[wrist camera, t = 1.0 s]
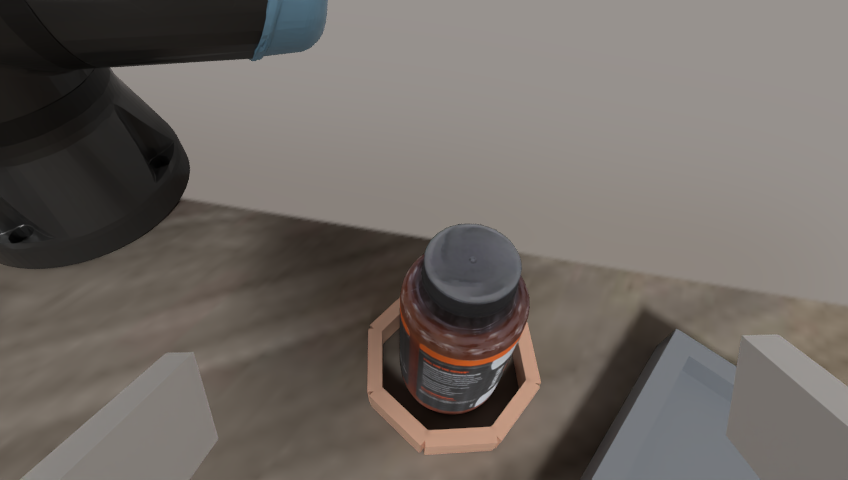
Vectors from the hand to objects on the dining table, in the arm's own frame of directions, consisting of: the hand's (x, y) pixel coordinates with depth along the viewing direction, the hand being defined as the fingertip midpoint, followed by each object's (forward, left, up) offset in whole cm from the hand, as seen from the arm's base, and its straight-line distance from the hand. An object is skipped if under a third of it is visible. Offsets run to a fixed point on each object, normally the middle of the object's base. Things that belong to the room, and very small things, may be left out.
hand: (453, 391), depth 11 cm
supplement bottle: (-3, +6, -15) cm, 16 cm away
